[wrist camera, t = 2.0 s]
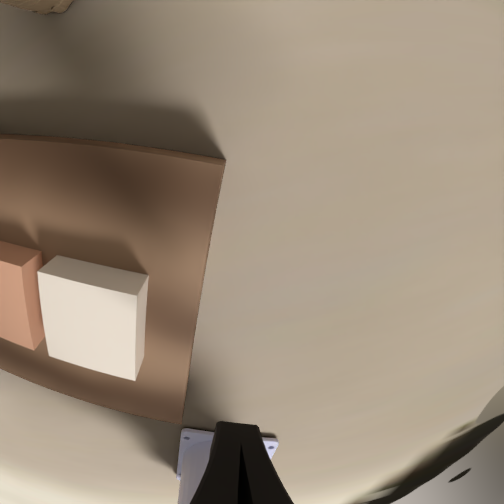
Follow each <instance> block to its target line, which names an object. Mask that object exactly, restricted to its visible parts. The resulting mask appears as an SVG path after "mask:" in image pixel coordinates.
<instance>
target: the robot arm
mask: <svg viewBox="0 0 504 504" xmlns="http://www.w3.org/2000/svg"><path fill="white" fill-rule="evenodd" d="M278 444H279V442H278V439H276V438H265V437H262V436H261V433H260V430H259V427H258V426H257V425H250V424H241V423H232V422H224V421H220V422H217V424H216V428H215V432H209V431H202V430H195V429H189V428H184V429H182V431H181V439H180V447H179V457H178V466H177V476H176V478H177V479H178V480H180V487H179V496H178V504H294V503H293V502H292V500H291V498H290V497H289V495H288V493H287V492H286V490H285V488H284V486H283V484H282V482H281V481H280V479H279V477H278V475H277V472H276V470H275V468H274V466H273V464H272V462H271V458H272V456H273V454H274V452H275V450H276V448H277V446H278Z"/></svg>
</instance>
